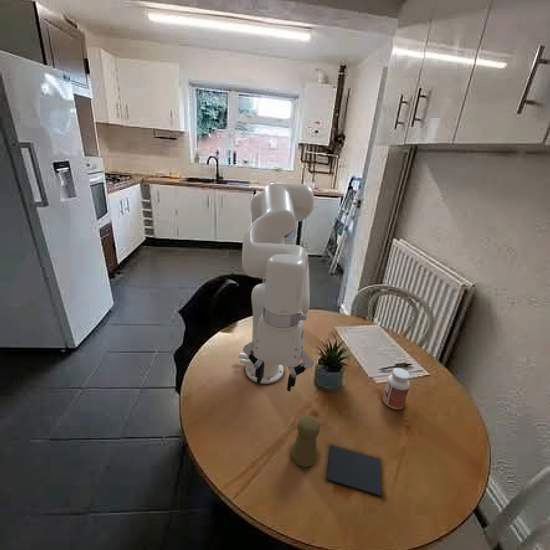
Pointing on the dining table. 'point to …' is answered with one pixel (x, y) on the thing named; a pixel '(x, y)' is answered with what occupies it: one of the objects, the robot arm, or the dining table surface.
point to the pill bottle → (396, 388)
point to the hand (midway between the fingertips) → (274, 382)
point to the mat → (354, 470)
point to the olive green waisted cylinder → (306, 441)
